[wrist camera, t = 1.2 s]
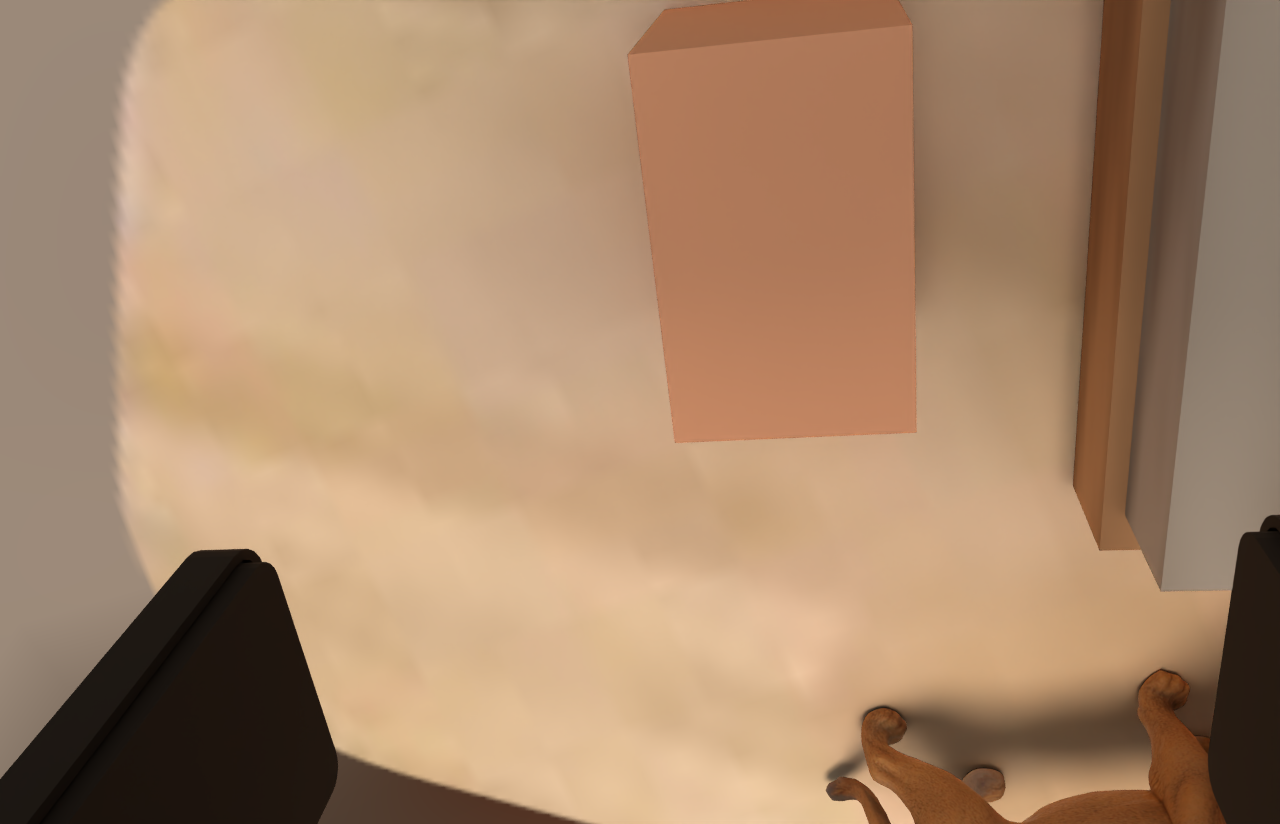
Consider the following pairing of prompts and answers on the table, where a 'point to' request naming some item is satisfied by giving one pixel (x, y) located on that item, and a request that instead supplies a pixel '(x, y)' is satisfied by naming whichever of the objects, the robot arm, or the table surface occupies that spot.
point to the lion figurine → (1104, 820)
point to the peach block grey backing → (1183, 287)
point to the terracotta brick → (781, 215)
